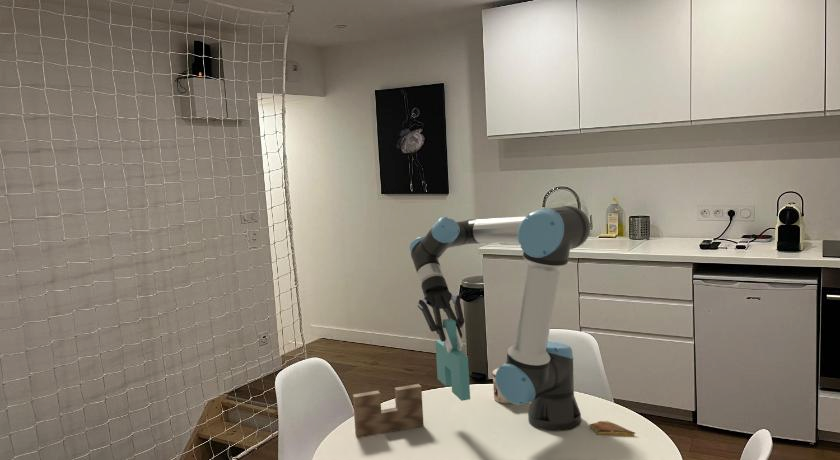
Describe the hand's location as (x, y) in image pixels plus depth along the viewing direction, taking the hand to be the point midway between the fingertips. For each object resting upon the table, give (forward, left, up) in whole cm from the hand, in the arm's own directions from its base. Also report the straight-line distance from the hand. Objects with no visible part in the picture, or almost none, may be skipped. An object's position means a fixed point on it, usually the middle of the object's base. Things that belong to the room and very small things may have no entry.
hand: (455, 349), depth 175 cm
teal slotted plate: (+1, -4, -13) cm, 13 cm away
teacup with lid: (-20, -21, -25) cm, 38 cm away
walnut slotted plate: (+19, -8, -25) cm, 32 cm away
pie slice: (-42, +8, -26) cm, 50 cm away
